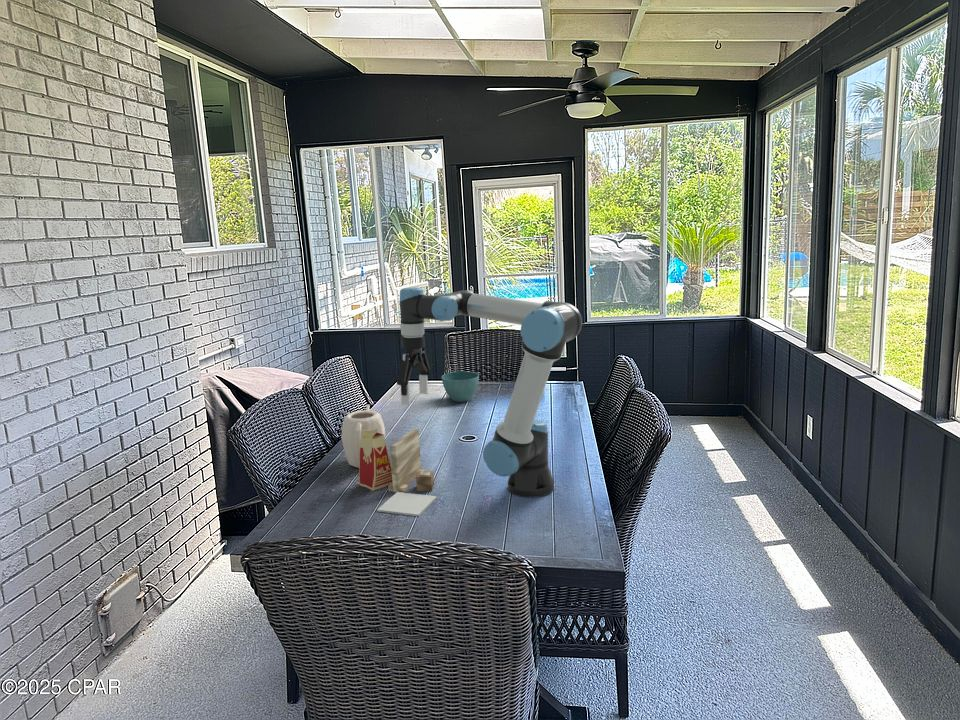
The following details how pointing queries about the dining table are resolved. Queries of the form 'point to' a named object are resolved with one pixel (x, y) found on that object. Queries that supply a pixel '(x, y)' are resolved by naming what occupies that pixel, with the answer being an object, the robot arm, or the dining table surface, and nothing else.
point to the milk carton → (374, 461)
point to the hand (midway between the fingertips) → (415, 399)
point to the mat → (407, 504)
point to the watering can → (359, 432)
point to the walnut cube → (425, 480)
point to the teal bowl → (460, 385)
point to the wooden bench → (405, 461)
